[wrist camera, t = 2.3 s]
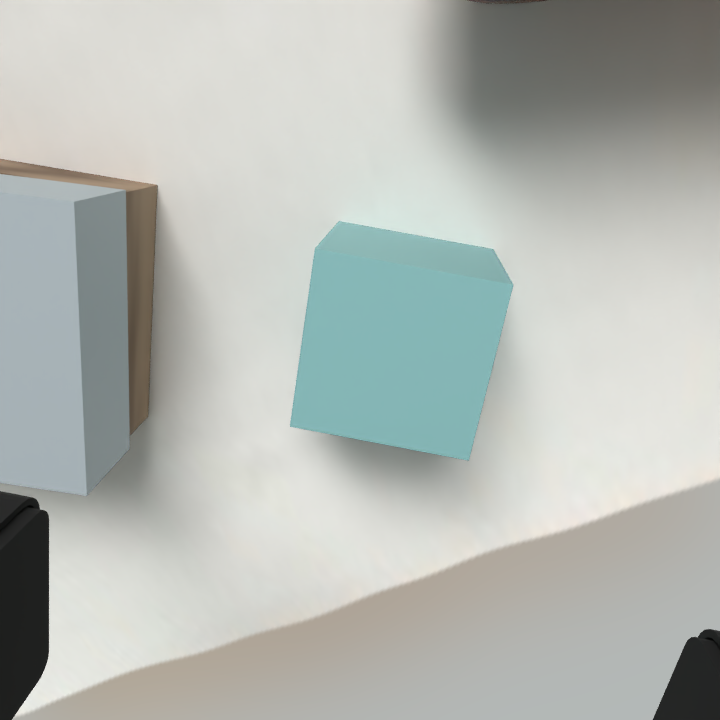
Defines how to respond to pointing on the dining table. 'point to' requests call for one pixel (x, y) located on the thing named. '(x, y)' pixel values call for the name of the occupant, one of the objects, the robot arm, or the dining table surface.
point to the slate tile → (62, 333)
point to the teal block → (399, 339)
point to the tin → (504, 1)
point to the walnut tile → (138, 268)
